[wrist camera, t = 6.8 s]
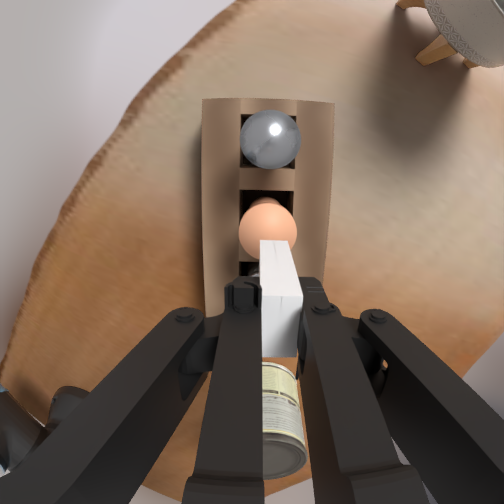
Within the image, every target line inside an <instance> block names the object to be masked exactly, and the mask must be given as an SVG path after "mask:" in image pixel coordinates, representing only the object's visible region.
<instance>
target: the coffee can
mask: <svg viewBox="0 0 504 504" xmlns="http://www.w3.org/2000/svg"><path fill="white" fill-rule="evenodd" d="M262 398H263V480H269V479H277V478H281V477H285V476H288V475H291V474H293V473H295V472H297V471H298V470H300V469H301V468H302V467H303V466H304V465H305V464H306V462H307V458H308V456H307V451H306V449H305V442H304V434H303V427H302V420H301V413H300V406H299V399H298V393H297V382H296V380H295V376H294V375H293V373H292V372H291V371H290V370H288V369H287V368H286V367H284V366H282V365H279V364H276V363H271V362H262Z"/></svg>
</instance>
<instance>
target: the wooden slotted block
mask: <svg viewBox="0 0 504 504" xmlns="http://www.w3.org/2000/svg"><path fill="white" fill-rule="evenodd" d="M263 110H277V111H281V112H283V113H285V114H287V115H288V116H290V117H291V118H292V119H293V120H294V121H295V123H296V124H297V126H298V128H299V130H300V134H301V146H300V149H299V152H298V154H297V156H296V157H295V158H294V159H293V160H292V161H291V162H290V163H289V166H283V167H281V168H277V169H264V168H261V167H258V166H256V165H243V152H242V149H241V146H240V132H241V129H242V127H243V125H244V120H247V119H248V118H249V117H251V116H252V115H253V114H255V113H257V112H259V111H263ZM333 143H334V103H326V102H315V101H303V100H287V99H262V98H217V99H202V149H201V177H202V236H203V265H204V288H205V307H206V317H213V316H217V315H220V314H222V313H223V312H224V309H225V302H224V287H225V286H226V284H228V283H230V282H233V280H234V279H235V278H236V277H238V276H242V261H245V262H259V259H256V258H254V257H252V256H251V255H249V254H248V253H247V252H246V251H245V250H244V248H243V247H242V245H241V243H240V240H239V226H240V222H241V219H242V190H281V191H288V194H287V210H288V211H289V212H290V214H291V215H292V217H293V219H294V221H295V224H296V228H297V237H296V241H295V244H294V246H293V247H292V249H291V250H290V251H291V255H292V258H293V261H294V265H295V269H296V272H297V276H298V277H315V278H316V279H318V280H319V281H320V282H321V284H322V285H323V276H324V267H325V258H326V248H327V237H328V226H329V213H330V200H331V184H332V166H333Z"/></svg>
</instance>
